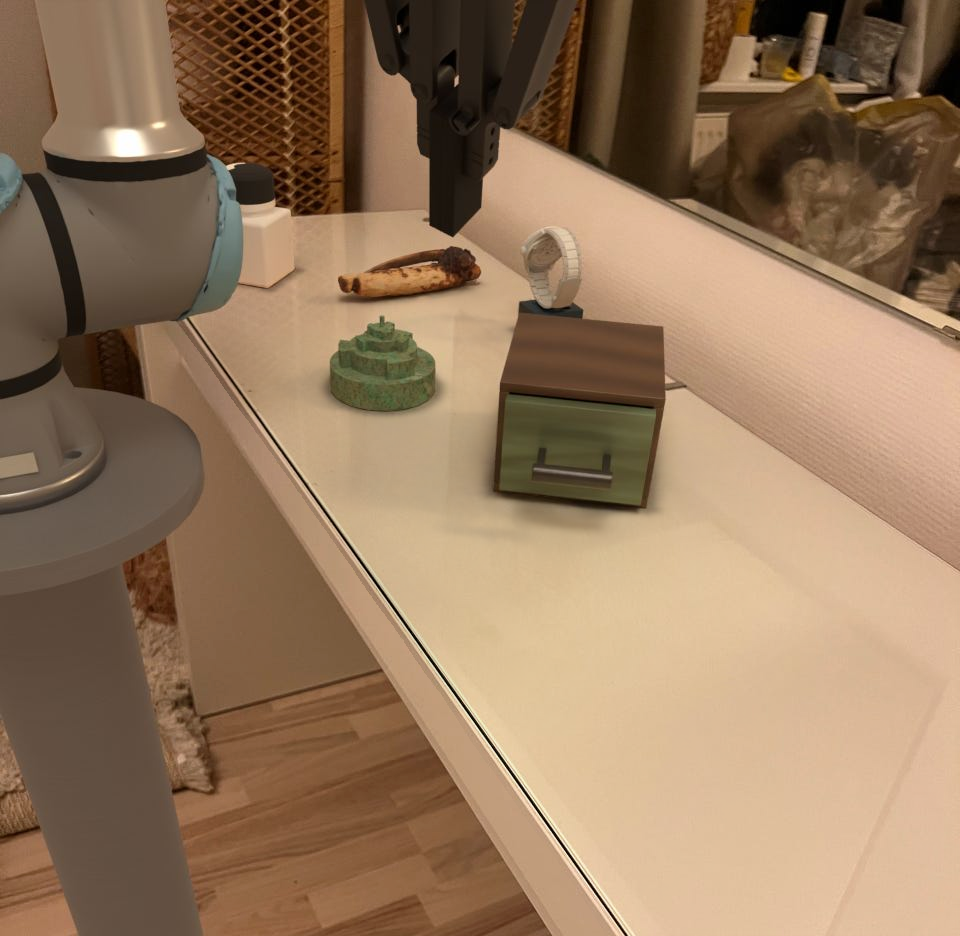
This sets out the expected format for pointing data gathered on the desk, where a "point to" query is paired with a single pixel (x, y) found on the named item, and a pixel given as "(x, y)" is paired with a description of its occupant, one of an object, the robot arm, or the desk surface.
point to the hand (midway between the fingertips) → (455, 216)
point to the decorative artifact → (382, 370)
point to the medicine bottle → (262, 226)
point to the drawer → (575, 448)
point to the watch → (542, 256)
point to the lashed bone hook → (414, 274)
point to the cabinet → (585, 371)
